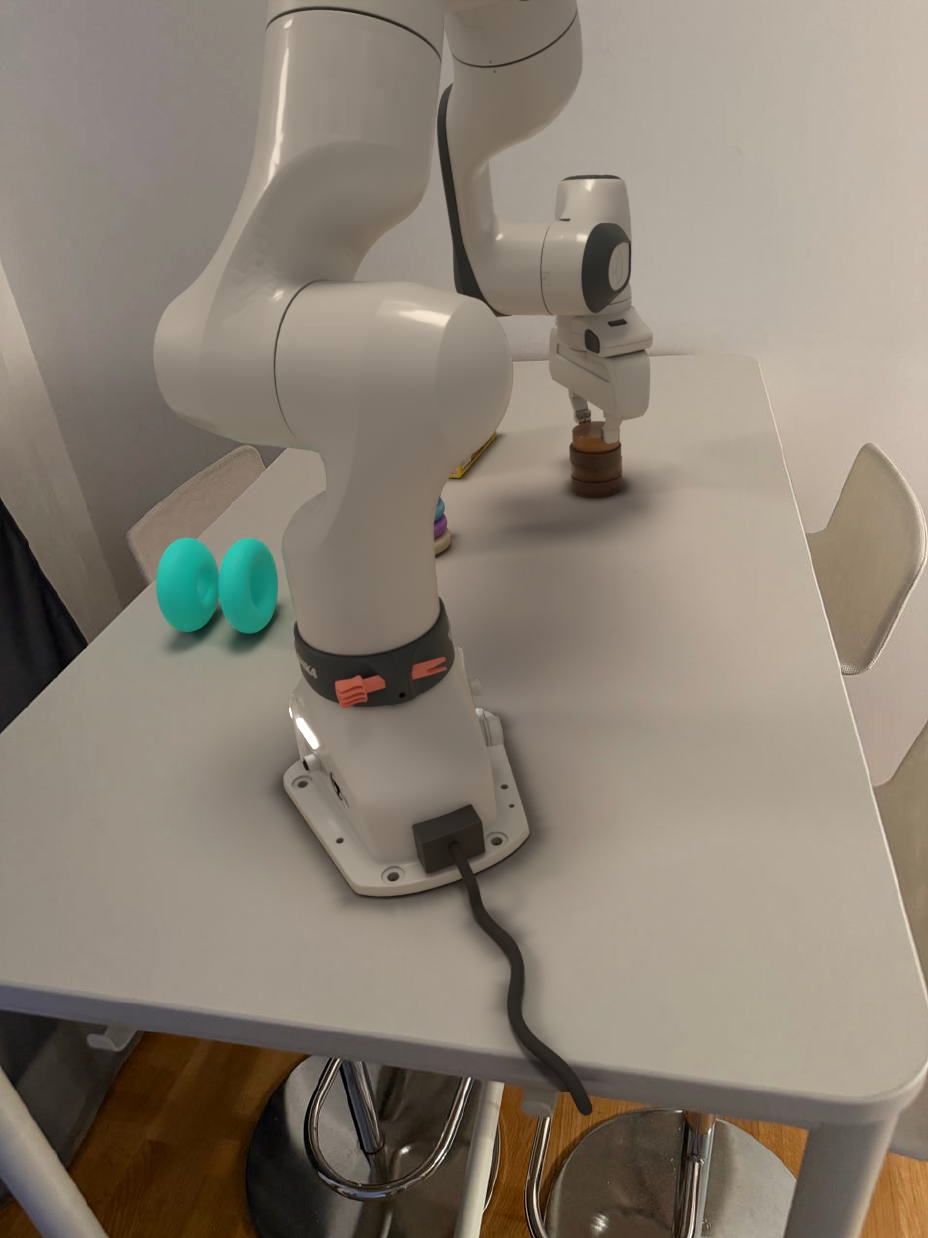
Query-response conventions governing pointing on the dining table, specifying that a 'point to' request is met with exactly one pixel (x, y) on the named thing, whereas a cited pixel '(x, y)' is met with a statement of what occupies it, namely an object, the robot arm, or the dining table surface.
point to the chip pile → (596, 472)
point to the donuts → (217, 585)
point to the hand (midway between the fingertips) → (595, 432)
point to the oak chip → (591, 438)
